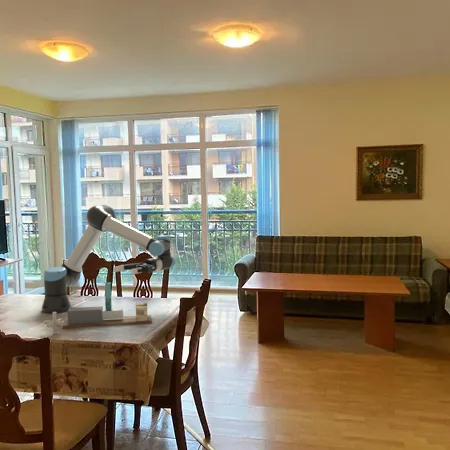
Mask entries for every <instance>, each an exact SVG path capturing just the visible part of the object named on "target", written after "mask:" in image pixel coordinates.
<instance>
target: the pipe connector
mask: <svg viewBox="0 0 450 450" xmlns="http://www.w3.org/2000/svg"><path fill="white" fill-rule="evenodd" d="M51 314H52V320H44V321H43V325H46V328H47V329H50V328H52V335H58V326H63V325H65V324H66V320H65V321H64V320H63V318H62V317H61V318H58V319H57V312H52V313H51Z"/></svg>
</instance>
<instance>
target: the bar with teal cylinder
mask: <svg viewBox="0 0 450 450" xmlns="http://www.w3.org/2000/svg"><path fill="white" fill-rule="evenodd" d="M104 302H105V304H104V305H105V306H104V307H105V308H103V309H102V319H117V318H123V316H124V308H123V307H122V308H121V307H120V308H113V307H112V306H113V305H112V282H104Z"/></svg>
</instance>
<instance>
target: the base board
mask: <svg viewBox="0 0 450 450" xmlns="http://www.w3.org/2000/svg"><path fill="white" fill-rule="evenodd" d="M65 322H66V324H65V325H62V329H76V328H79V327H80V328H93V327H94V328H95V327H113V326H115V327H116V326H130V325H131V326H132V325H133V326H134V325H135V326H136V325H151V324H152V314H147V321H136V315H127V316H124V315H123V318H117V319H103V321H102V322H99V323H80V324H68V318H67V319H66V320H65ZM80 328H79V329H80Z"/></svg>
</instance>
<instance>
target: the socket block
mask: <svg viewBox="0 0 450 450" xmlns="http://www.w3.org/2000/svg"><path fill="white" fill-rule="evenodd" d="M147 315H148V303H147V302H141V303H136V304H135V316H136V321H147Z"/></svg>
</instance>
